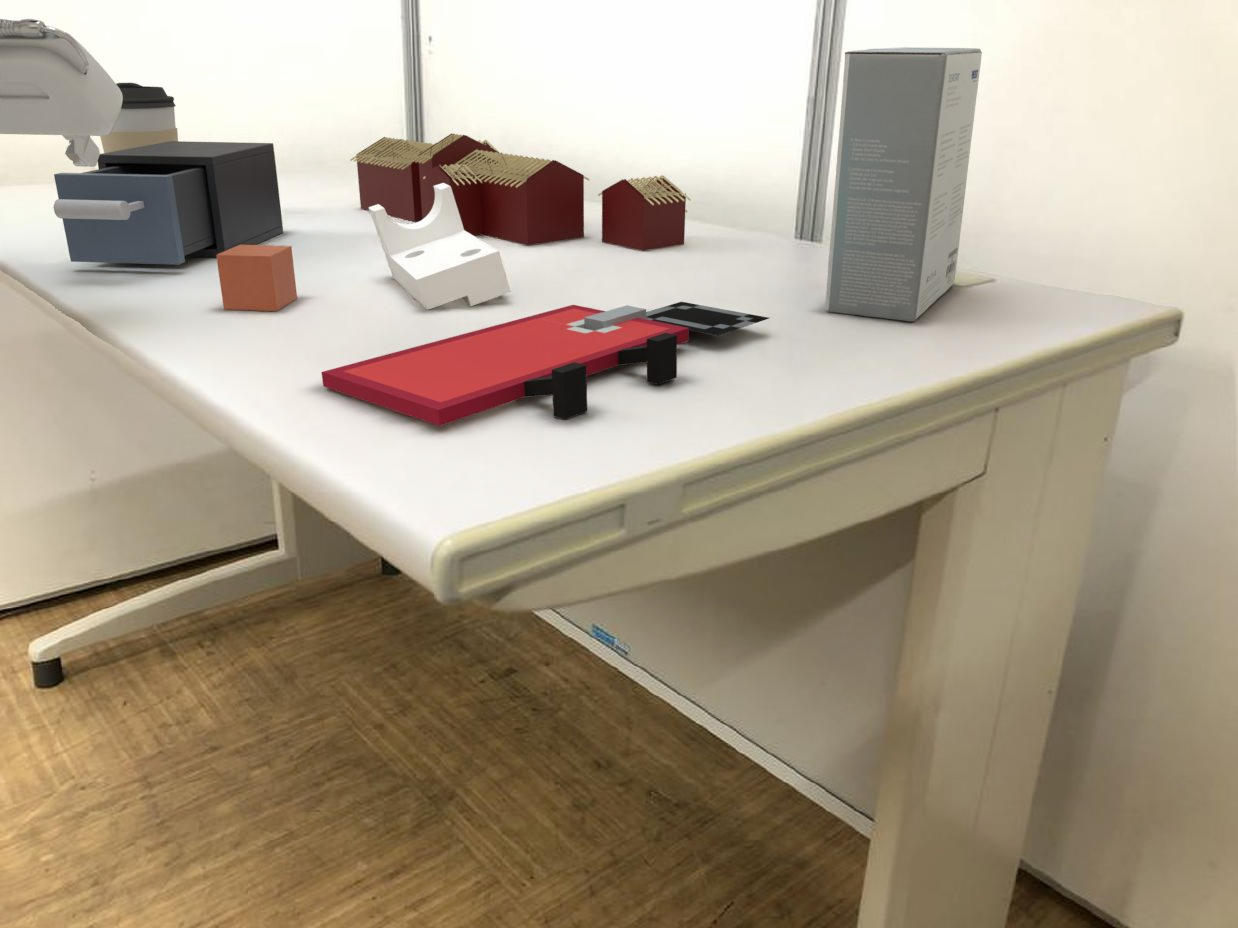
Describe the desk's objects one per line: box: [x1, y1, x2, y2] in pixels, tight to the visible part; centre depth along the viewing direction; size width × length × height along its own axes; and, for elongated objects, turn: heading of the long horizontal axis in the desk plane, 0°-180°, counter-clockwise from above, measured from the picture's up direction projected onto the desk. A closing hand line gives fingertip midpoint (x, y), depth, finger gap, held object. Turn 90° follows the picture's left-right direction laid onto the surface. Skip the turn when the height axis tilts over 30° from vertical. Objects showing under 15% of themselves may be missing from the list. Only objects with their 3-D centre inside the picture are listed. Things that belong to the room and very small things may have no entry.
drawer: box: [53, 164, 216, 266], centre depth 97 cm, size 18×10×8 cm, turn 175°
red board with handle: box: [321, 301, 770, 427], centre depth 69 cm, size 30×3×15 cm
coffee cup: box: [99, 82, 179, 153], centre depth 123 cm, size 9×9×15 cm
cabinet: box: [97, 140, 284, 258], centre depth 106 cm, size 15×12×10 cm
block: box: [215, 244, 298, 312], centre depth 83 cm, size 4×4×4 cm
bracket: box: [368, 183, 512, 311], centre depth 87 cm, size 13×7×8 cm, turn 23°
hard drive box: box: [824, 46, 983, 322], centre depth 84 cm, size 16×8×20 cm, turn 152°
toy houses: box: [349, 133, 692, 252], centre depth 118 cm, size 45×20×10 cm, turn 42°
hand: (31, 158), depth 80 cm, fingers open, 8 cm apart
